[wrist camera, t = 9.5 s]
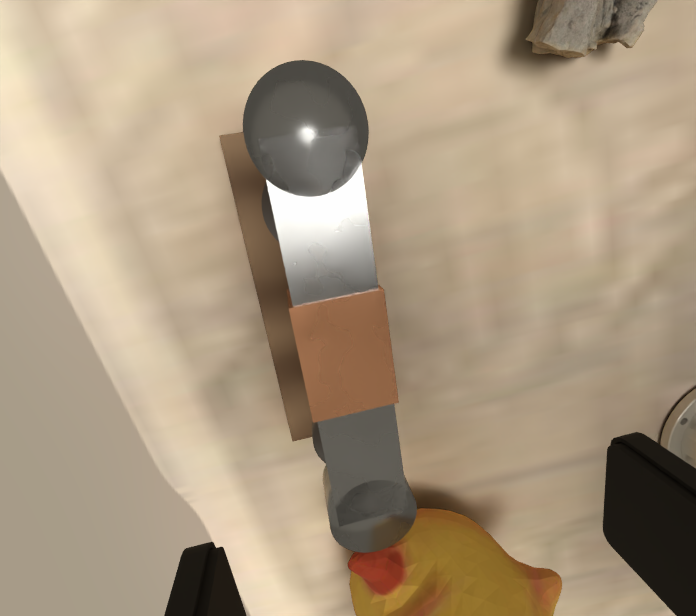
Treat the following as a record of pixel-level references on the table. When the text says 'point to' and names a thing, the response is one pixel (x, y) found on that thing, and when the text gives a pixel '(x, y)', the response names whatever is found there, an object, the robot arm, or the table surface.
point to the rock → (586, 25)
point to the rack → (270, 283)
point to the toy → (449, 574)
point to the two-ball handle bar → (334, 292)
